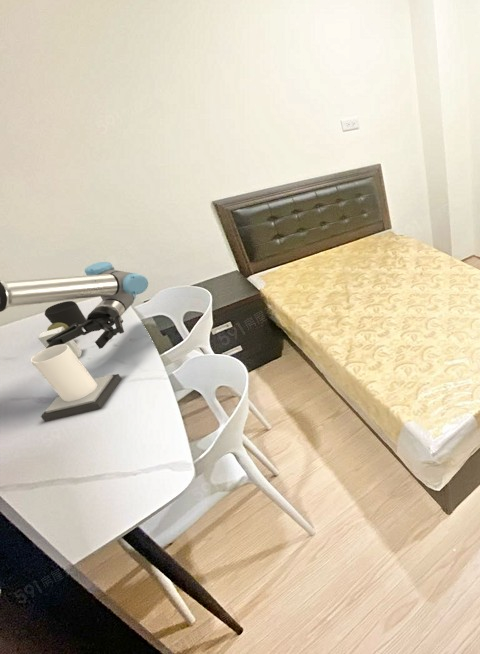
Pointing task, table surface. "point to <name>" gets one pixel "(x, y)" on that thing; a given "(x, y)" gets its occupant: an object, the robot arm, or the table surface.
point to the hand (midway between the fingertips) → (72, 350)
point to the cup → (64, 372)
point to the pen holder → (65, 313)
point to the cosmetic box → (71, 343)
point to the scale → (83, 400)
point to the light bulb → (57, 326)
